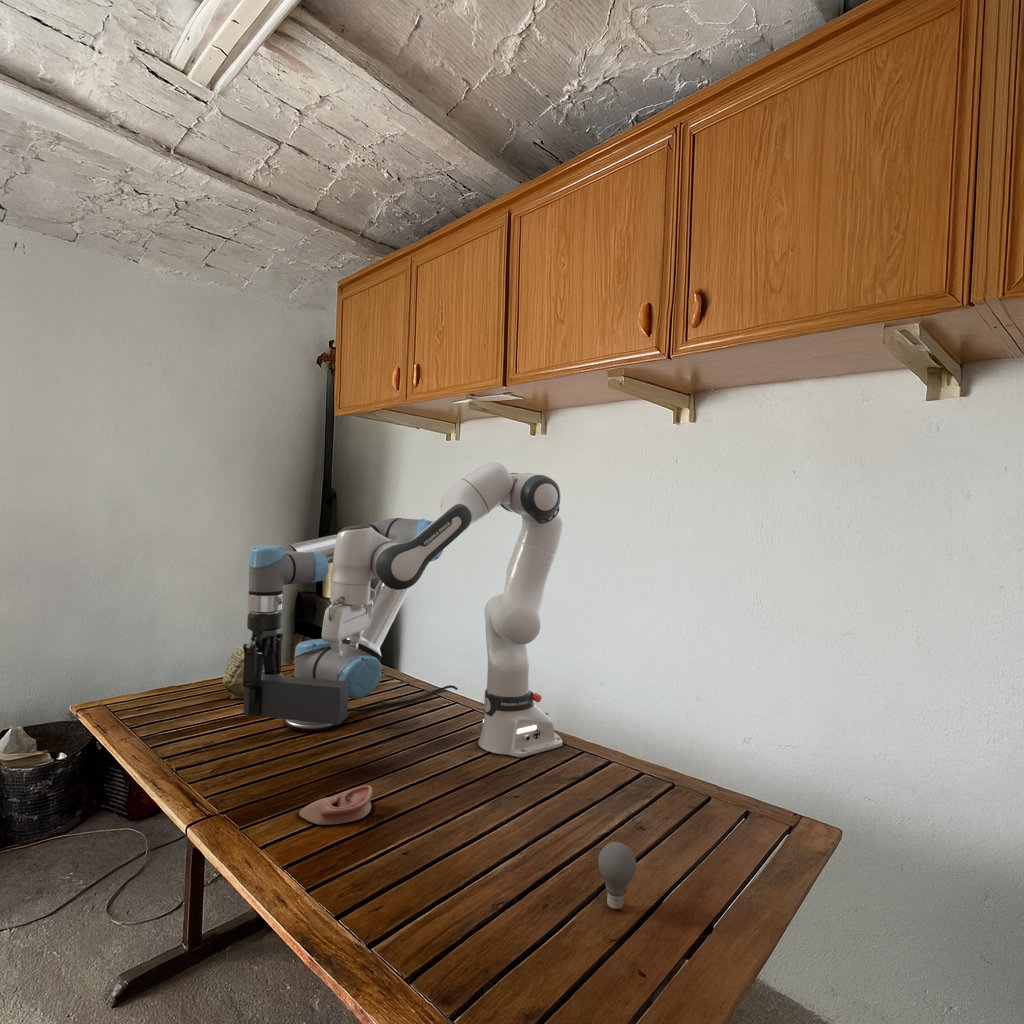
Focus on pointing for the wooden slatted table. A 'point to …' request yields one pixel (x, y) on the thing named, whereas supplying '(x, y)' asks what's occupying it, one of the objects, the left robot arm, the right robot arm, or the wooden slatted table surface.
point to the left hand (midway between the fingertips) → (261, 710)
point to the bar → (302, 699)
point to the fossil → (236, 674)
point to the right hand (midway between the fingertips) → (345, 654)
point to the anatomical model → (339, 807)
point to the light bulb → (616, 871)
